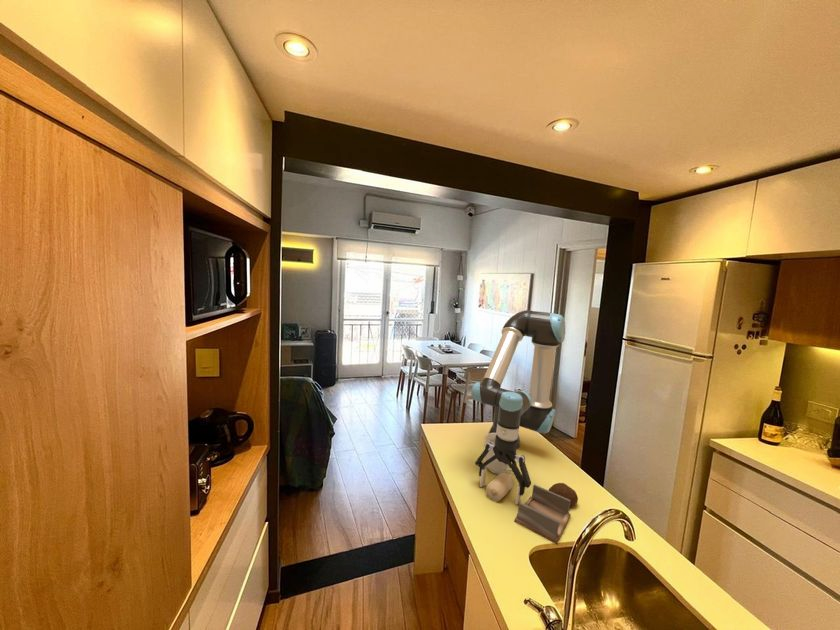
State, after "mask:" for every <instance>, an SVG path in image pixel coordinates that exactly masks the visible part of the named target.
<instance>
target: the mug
mask: <svg viewBox="0 0 840 630" xmlns="http://www.w3.org/2000/svg"><path fill="white" fill-rule="evenodd" d="M488 433H489V432H488ZM496 435H497V434H496V433H489V434H486V436H485V441H484V449H483V451H484V450H485V447H486V444H488V443H489V442H491V444H492V445H493V446H495V437H496ZM494 455H495V454H494V451H493V449H492V450H491V451H489V452H488V454H487V455H486V456H485V458H484V462H485V461H487V460H488V459H490V458H491V457H492V456H494ZM515 461H516V465H517V466H518V461H517V459H515ZM485 467H486V468H487V470H488V471H490V472H491V473H492V474H496V475H499V474H500V473H501V472H506V473H508V474H510V473H513V471H512V469H509V465H508V464H507V465H506V464H504V463H503V462H499V461H498V460H497V459H495V460H494V461H492V462H491V463H489V464H488V465H486V466H485Z"/></svg>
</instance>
